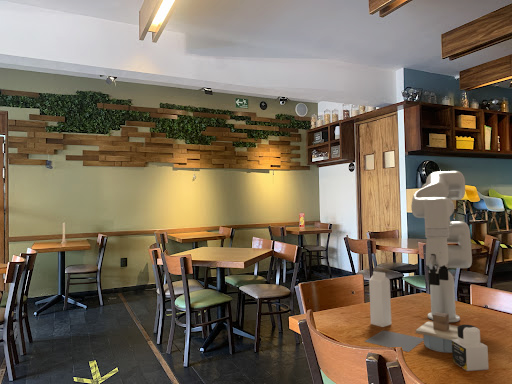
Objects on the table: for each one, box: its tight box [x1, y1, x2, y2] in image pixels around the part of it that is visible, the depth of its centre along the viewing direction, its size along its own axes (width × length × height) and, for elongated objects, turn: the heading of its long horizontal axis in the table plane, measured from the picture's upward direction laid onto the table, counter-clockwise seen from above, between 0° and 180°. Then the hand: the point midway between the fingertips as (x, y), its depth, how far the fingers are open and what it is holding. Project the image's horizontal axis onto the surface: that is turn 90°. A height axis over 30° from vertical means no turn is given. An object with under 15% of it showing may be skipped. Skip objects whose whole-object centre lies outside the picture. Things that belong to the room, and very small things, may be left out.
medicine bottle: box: [451, 324, 490, 372], centre depth 117 cm, size 7×7×12 cm
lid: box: [415, 312, 459, 340], centre depth 132 cm, size 13×13×6 cm
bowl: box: [423, 335, 452, 353], centre depth 132 cm, size 11×11×6 cm
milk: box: [368, 271, 392, 328], centre depth 159 cm, size 6×6×22 cm
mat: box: [364, 329, 424, 353], centre depth 139 cm, size 16×16×1 cm
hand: (439, 282), depth 133 cm, fingers open, 9 cm apart
